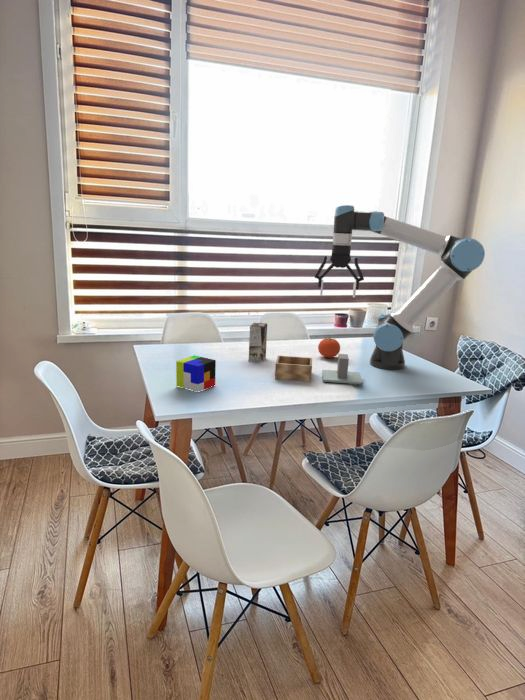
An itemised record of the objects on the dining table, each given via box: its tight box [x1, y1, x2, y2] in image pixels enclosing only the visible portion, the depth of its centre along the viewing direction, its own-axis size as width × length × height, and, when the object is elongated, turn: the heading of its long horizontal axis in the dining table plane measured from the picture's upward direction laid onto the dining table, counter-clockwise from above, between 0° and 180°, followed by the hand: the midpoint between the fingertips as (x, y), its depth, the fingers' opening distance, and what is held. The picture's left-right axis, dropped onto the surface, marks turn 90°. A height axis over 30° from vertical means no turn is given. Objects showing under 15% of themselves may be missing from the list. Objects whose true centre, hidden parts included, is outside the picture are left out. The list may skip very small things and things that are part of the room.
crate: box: [274, 355, 313, 383], centre depth 186 cm, size 14×12×7 cm
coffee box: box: [248, 322, 268, 363], centre depth 208 cm, size 9×6×16 cm
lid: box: [321, 353, 364, 387], centre depth 184 cm, size 15×13×10 cm
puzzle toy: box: [175, 354, 217, 392], centre depth 171 cm, size 10×10×10 cm
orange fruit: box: [317, 337, 341, 359], centre depth 217 cm, size 10×10×10 cm
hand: (337, 296), depth 197 cm, fingers open, 13 cm apart
